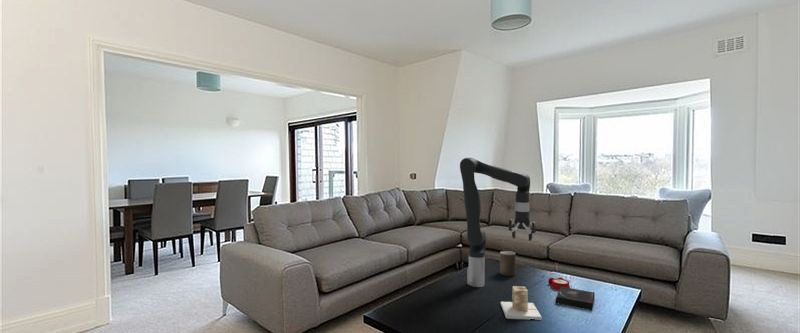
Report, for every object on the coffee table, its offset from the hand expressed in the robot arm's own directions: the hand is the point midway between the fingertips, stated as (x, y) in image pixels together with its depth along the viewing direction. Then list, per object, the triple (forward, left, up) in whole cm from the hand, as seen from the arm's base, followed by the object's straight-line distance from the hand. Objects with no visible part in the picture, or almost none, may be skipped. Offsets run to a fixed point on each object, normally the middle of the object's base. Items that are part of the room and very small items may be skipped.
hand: (522, 239), depth 201 cm
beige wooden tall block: (+7, -24, -29) cm, 38 cm away
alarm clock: (+14, +23, -31) cm, 41 cm away
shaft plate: (+7, -24, -30) cm, 39 cm away
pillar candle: (-18, +28, -30) cm, 45 cm away
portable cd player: (+26, +6, -31) cm, 41 cm away
